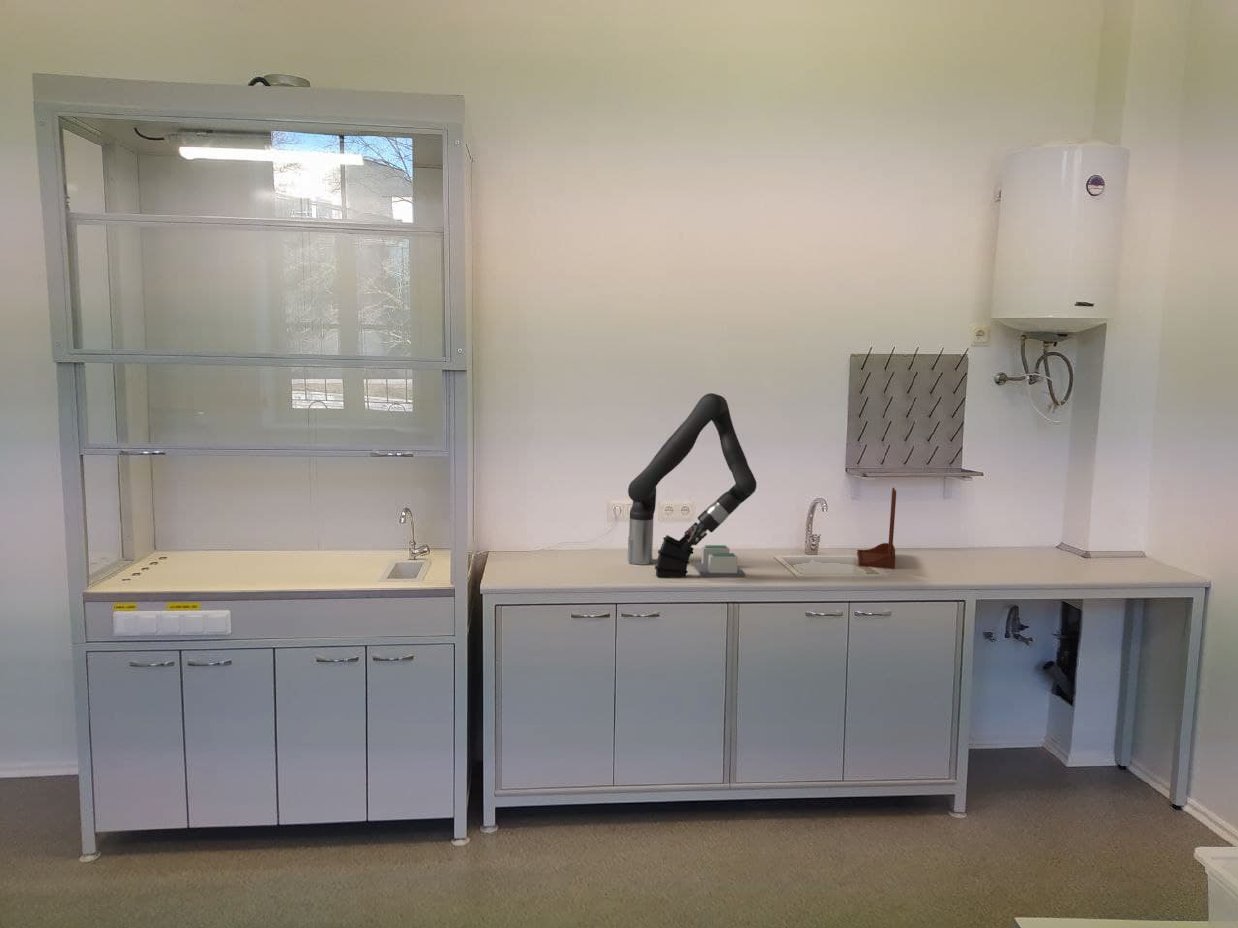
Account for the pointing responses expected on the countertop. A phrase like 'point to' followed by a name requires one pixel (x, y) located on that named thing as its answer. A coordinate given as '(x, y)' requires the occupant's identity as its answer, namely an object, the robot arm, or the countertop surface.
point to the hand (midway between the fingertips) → (680, 547)
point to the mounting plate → (718, 562)
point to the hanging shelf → (881, 547)
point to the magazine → (672, 559)
